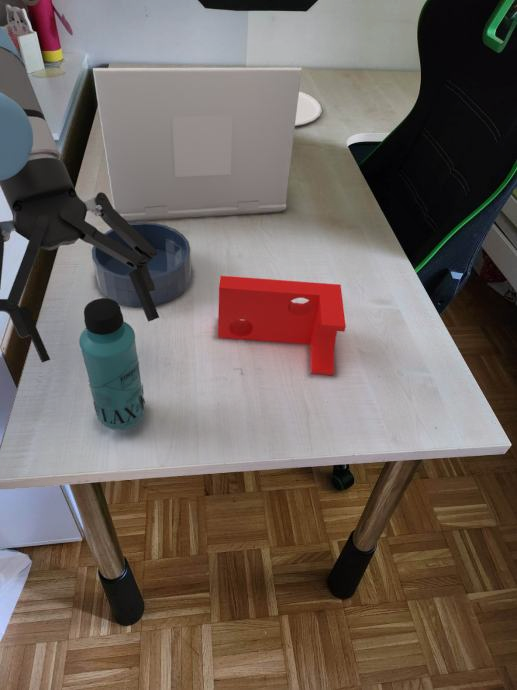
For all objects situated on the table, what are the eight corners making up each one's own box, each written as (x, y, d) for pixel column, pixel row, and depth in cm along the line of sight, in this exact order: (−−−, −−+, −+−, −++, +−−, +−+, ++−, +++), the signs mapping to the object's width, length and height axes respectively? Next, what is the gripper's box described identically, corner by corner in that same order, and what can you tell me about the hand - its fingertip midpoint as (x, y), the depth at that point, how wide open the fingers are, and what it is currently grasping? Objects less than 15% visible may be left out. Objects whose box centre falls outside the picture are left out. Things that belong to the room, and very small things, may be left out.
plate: (245, 81, 161) (245, 77, 160) (334, 102, 154) (335, 98, 153) (201, 114, 142) (201, 109, 141) (301, 139, 135) (301, 134, 134)
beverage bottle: (89, 432, 68) (58, 322, 54) (110, 394, 73) (86, 283, 58) (136, 443, 68) (116, 334, 53) (154, 404, 72) (141, 295, 58)
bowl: (99, 312, 84) (93, 284, 80) (95, 254, 95) (90, 226, 91) (198, 301, 88) (197, 273, 83) (183, 246, 98) (182, 219, 94)
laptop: (257, 156, 127) (267, 24, 106) (285, 214, 109) (302, 69, 89) (111, 161, 120) (92, 21, 99) (115, 224, 102) (92, 70, 82)
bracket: (340, 280, 78) (345, 326, 71) (328, 329, 85) (333, 375, 78) (221, 271, 77) (214, 316, 70) (220, 321, 85) (214, 366, 78)
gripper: (124, 157, 68) (183, 307, 71) (-86, 205, 57) (-6, 380, 60) (137, 134, 62) (203, 300, 64) (-97, 183, 51) (-6, 381, 53)
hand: (102, 339), depth 62 cm, fingers open, 13 cm apart
